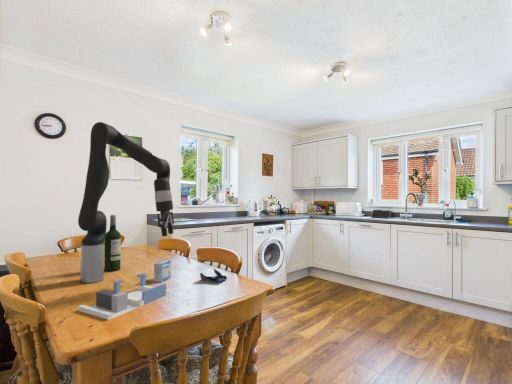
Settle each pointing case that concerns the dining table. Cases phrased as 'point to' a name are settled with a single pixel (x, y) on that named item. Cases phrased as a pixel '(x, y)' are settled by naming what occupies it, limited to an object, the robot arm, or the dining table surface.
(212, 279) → the black clip
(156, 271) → the medicine box
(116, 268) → the wine bottle
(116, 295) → the grey rectangular blocks
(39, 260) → the dining table surface
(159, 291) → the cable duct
